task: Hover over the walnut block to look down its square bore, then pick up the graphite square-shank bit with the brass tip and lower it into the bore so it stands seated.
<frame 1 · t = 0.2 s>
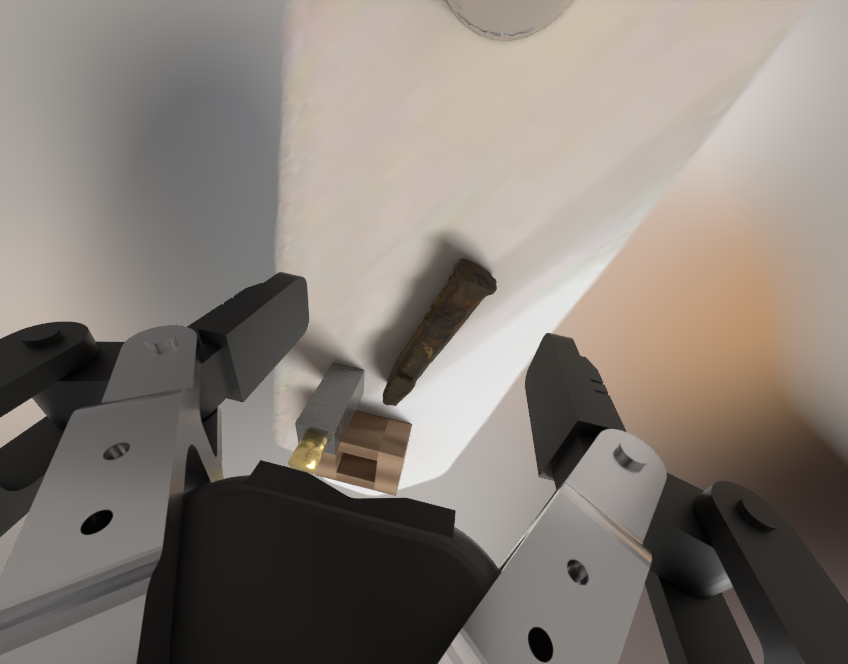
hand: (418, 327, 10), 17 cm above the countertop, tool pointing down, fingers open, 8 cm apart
bit: (348, 378, 38), on the countertop
dark brown rod: (433, 334, 33), on the countertop
housing: (367, 435, 45), on the countertop
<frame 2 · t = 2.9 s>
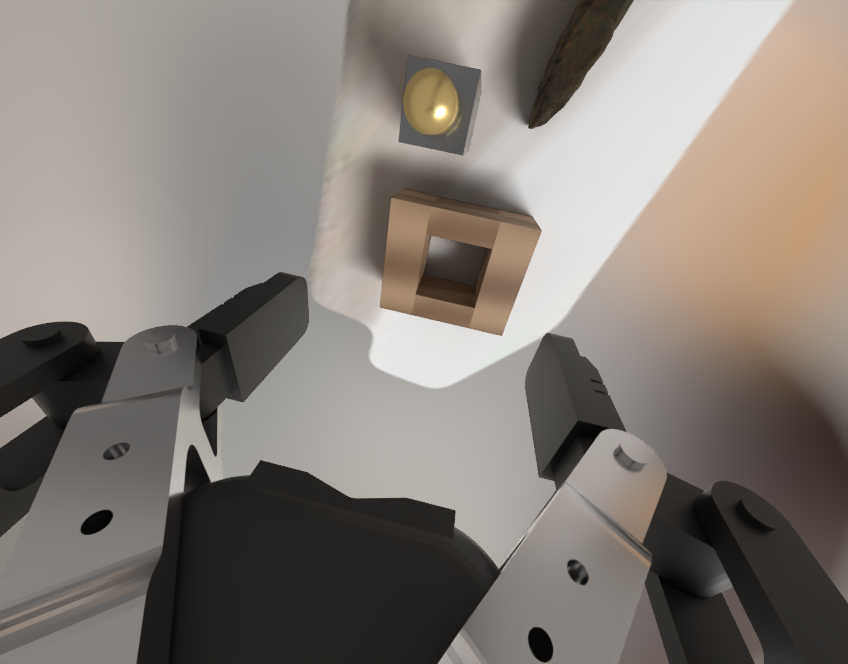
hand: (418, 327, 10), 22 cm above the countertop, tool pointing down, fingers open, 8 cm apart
bit: (450, 117, 25), on the countertop
housing: (455, 255, 31), on the countertop
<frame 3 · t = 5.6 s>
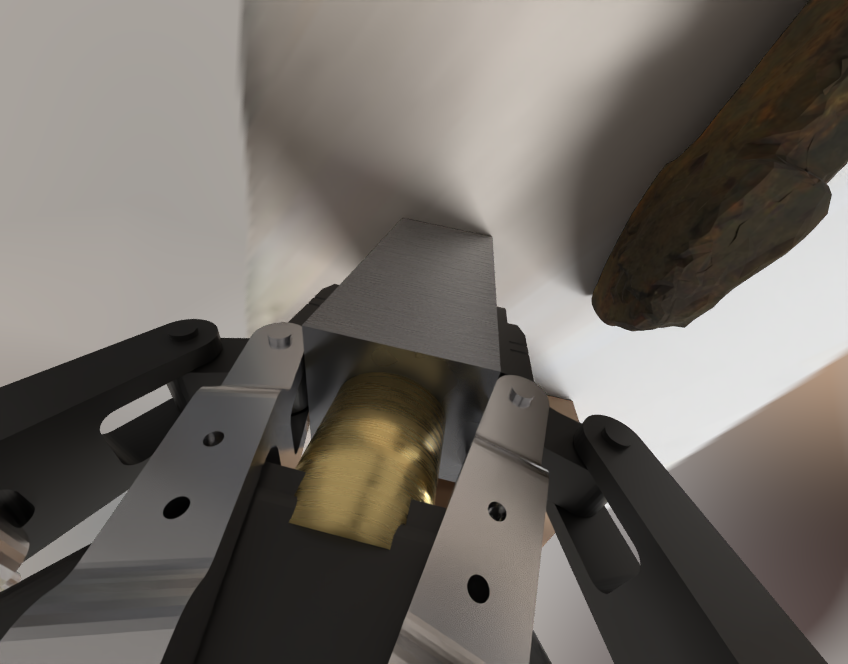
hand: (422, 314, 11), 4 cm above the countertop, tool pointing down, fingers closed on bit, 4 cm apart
bit: (438, 269, 15), on the countertop, touching gripper
dark brown rod: (820, 48, 9), on the countertop
housing: (451, 430, 21), on the countertop
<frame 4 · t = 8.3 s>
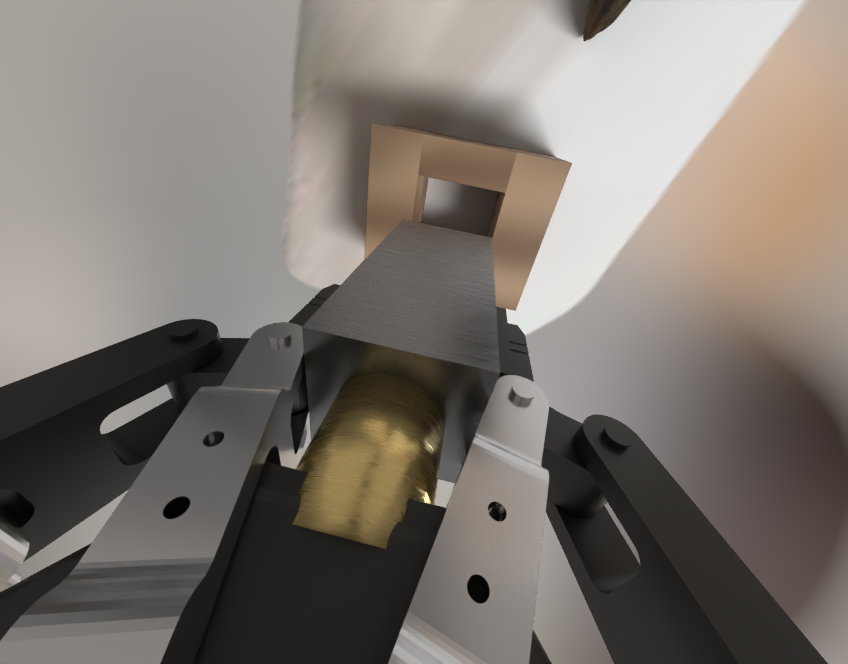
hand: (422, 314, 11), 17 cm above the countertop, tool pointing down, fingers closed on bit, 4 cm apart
bit: (438, 270, 15), point 13 cm above the countertop, touching gripper
housing: (457, 212, 25), on the countertop
when the fingers open (7 cm above the countertop, at t = 11.2 s): bit drops 2 cm, resting in housing.
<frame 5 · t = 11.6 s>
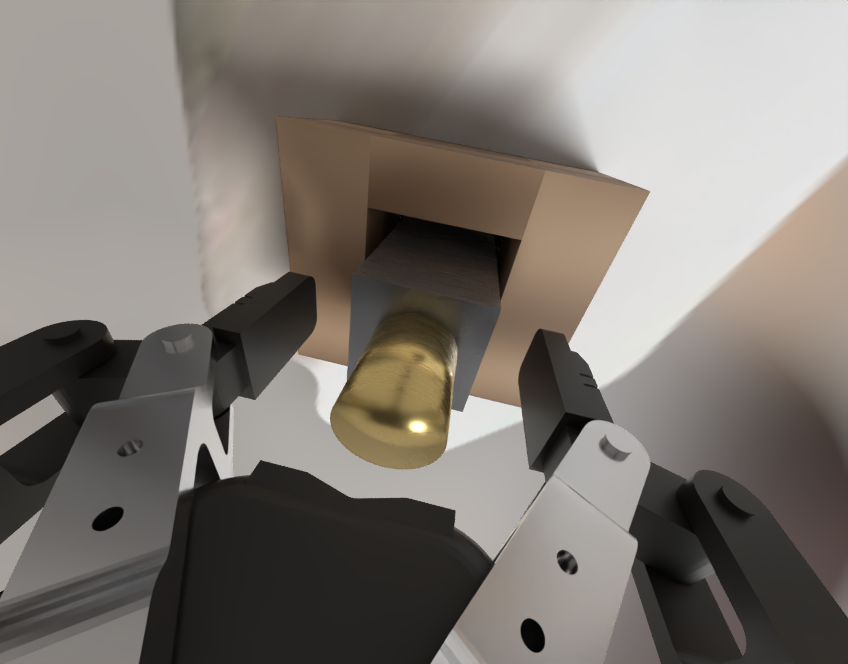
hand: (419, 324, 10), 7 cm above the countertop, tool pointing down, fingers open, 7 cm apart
bit: (445, 252, 17), resting in housing
housing: (443, 252, 17), on the countertop
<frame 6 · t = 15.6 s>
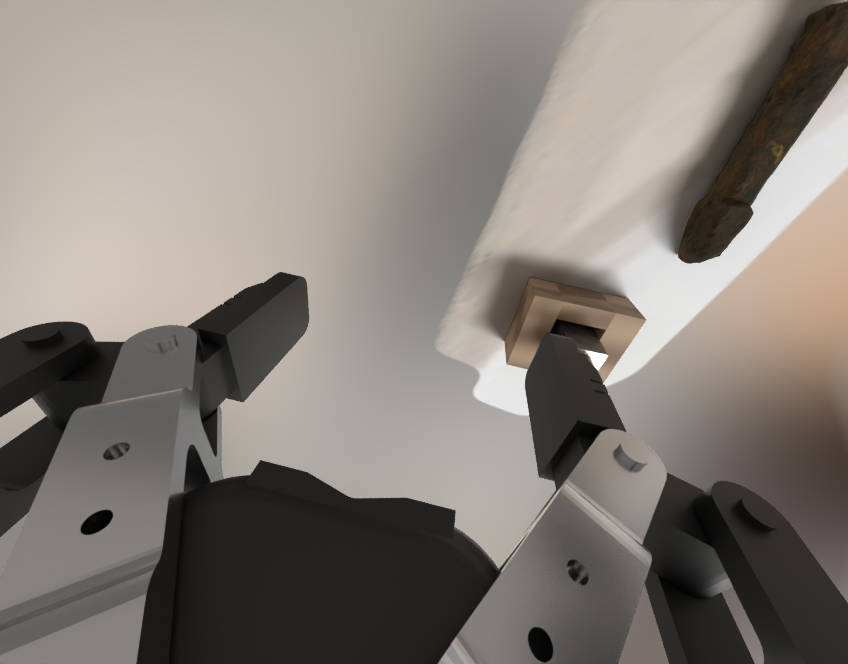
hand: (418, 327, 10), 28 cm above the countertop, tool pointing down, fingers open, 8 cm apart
bit: (562, 321, 40), resting in housing
dark brown rod: (743, 158, 28), on the countertop
housing: (561, 322, 40), on the countertop
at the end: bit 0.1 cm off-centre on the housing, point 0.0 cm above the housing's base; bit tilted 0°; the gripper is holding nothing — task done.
